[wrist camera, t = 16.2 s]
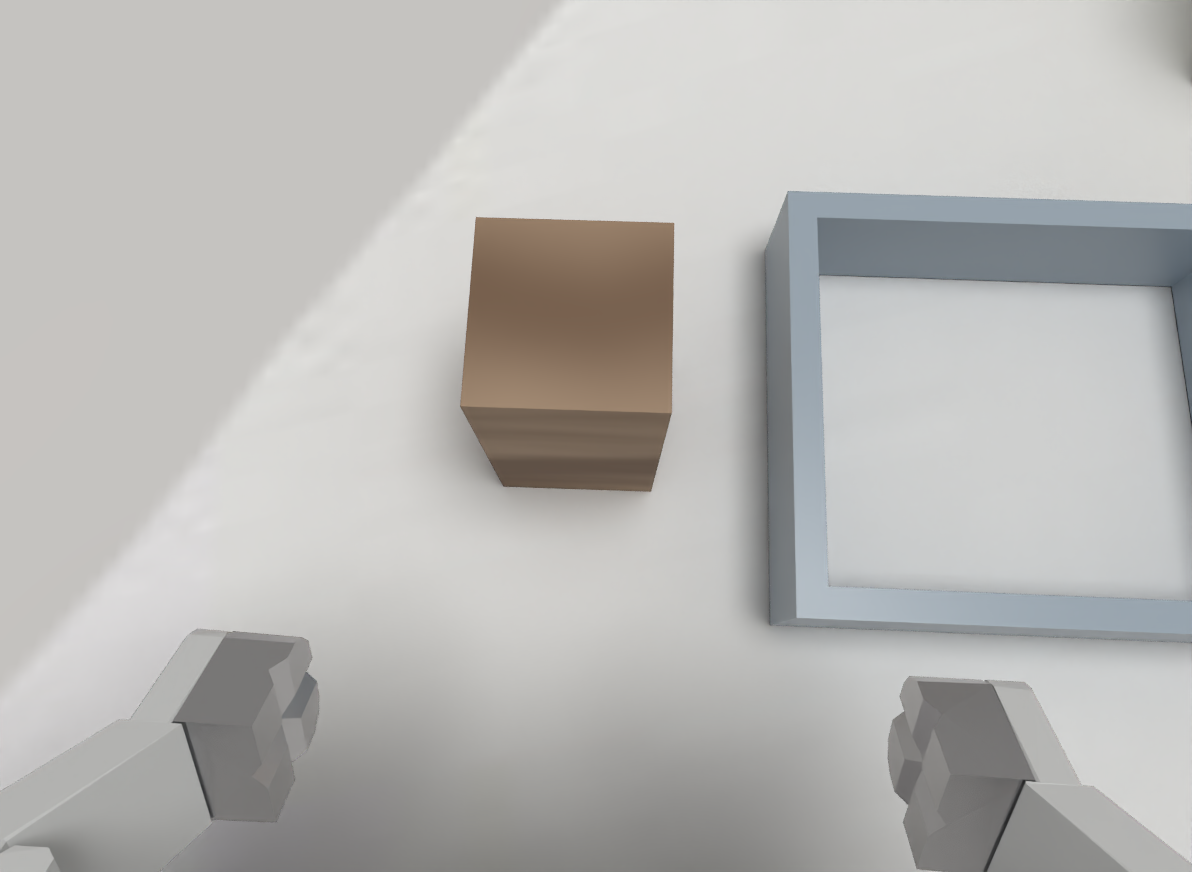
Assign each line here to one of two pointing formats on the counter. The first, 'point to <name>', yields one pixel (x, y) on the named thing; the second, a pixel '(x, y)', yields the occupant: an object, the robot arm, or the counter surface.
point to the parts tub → (941, 251)
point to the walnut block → (570, 350)
